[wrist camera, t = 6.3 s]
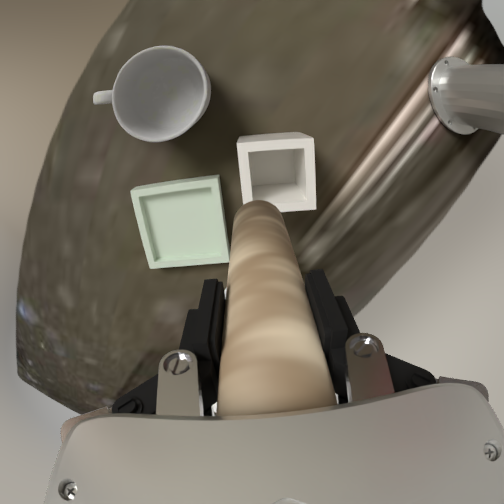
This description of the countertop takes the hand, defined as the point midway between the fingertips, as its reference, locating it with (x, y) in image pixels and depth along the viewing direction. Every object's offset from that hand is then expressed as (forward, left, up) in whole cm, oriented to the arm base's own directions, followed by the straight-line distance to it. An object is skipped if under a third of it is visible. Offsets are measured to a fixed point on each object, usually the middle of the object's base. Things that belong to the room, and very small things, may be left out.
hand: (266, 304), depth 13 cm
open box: (-2, -1, -28) cm, 28 cm away
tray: (+11, +6, -28) cm, 30 cm away
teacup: (+11, -12, -28) cm, 32 cm away
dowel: (0, 0, -9) cm, 9 cm away
